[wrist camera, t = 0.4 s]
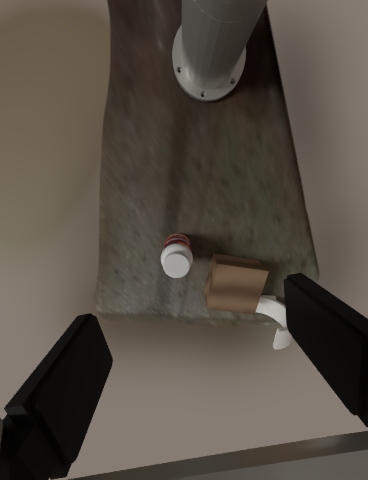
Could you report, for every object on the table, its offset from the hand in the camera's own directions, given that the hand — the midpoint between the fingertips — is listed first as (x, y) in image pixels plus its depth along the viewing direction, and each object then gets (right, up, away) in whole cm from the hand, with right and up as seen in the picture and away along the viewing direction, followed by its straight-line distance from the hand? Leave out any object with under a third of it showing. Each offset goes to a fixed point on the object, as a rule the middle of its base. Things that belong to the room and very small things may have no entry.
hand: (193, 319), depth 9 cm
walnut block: (+11, -5, +37) cm, 38 cm away
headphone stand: (+21, -12, +39) cm, 46 cm away
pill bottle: (-2, +3, +34) cm, 34 cm away
